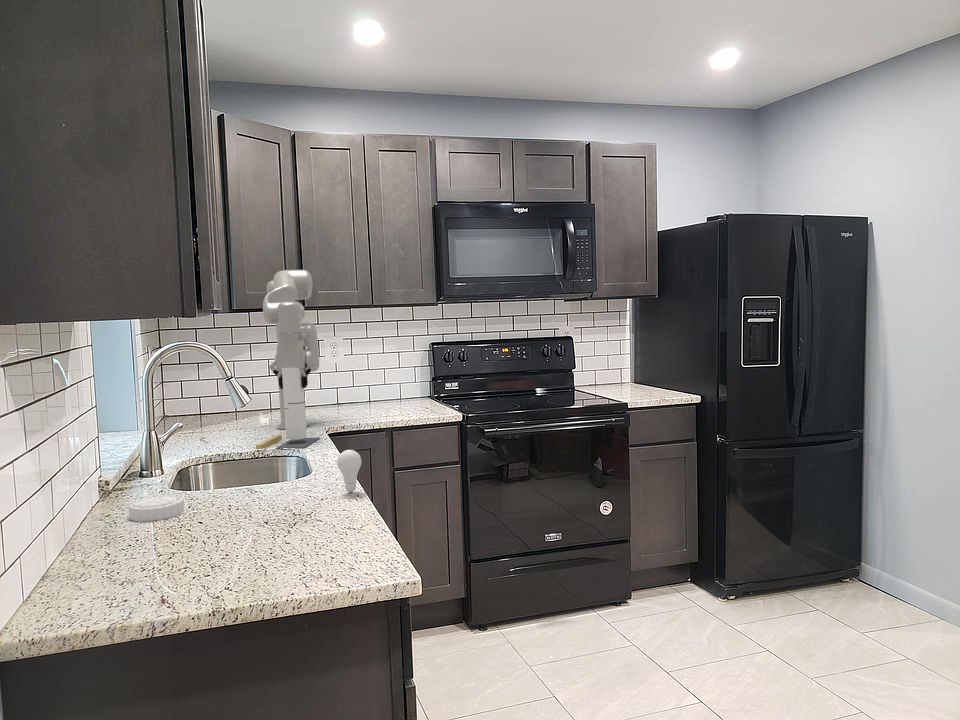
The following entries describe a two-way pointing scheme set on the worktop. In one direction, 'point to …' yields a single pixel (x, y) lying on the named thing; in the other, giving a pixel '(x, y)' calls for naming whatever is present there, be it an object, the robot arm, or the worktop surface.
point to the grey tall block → (294, 404)
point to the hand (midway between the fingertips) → (293, 387)
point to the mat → (298, 443)
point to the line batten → (269, 441)
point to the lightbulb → (349, 468)
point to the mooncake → (156, 508)
